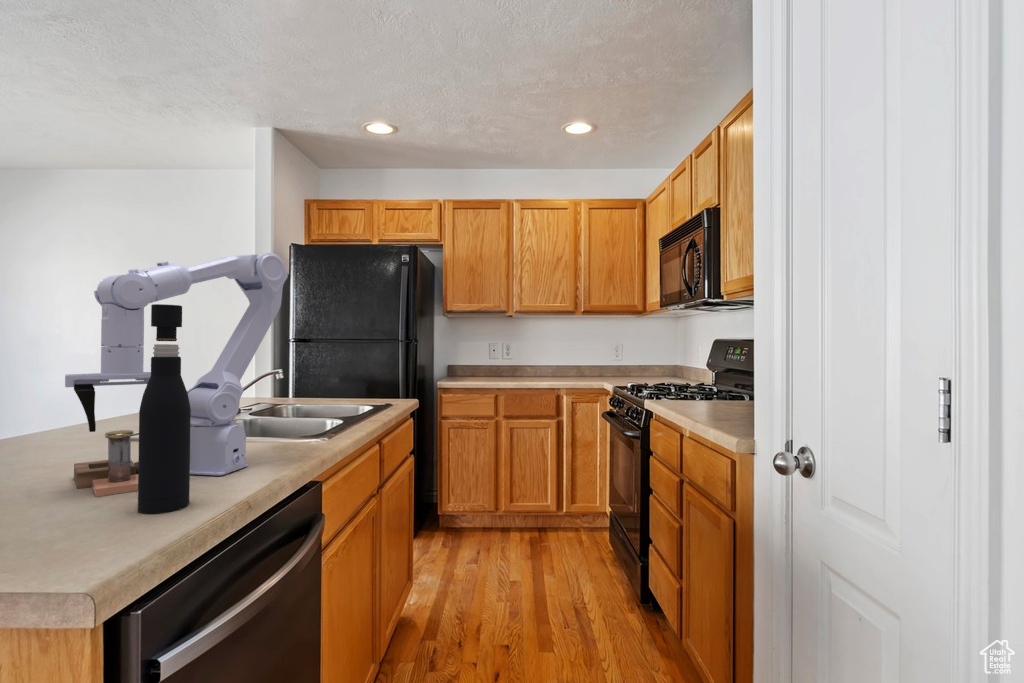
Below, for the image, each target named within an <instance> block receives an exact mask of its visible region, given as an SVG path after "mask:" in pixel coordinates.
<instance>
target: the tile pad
mask: <svg viewBox="0 0 1024 683" xmlns="http://www.w3.org/2000/svg"><path fill="white" fill-rule="evenodd" d="M91 488H92V490H93V493H94V496H95V497H102V496H103V497H104V496H110V495H111V496H112V495H116V494H125V493H130V492H138V474H135V475H131V479H130V480H128V481H124V482H117V483H111V482H108V478H104V479H97V480H92V487H91Z"/></svg>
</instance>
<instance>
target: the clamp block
mask: <svg viewBox="0 0 1024 683" xmlns="http://www.w3.org/2000/svg"><path fill="white" fill-rule="evenodd" d="M138 463H139V461H135V462H134V461H132V459H131V475H135V474H138ZM104 478H108V459H106V460H105V459H102V460H96V461H95V460H94V461H86V462H85V461H83V462H77V463H76V462H75V463H73V479H74V483H75V488H76V490H77V489H85V488H90V487H91V488H92V480H97V479H104Z"/></svg>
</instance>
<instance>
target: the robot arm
mask: <svg viewBox="0 0 1024 683" xmlns="http://www.w3.org/2000/svg"><path fill="white" fill-rule="evenodd" d="M156 265H157V266H154V267H149V268H144V269H141V270H139V269H138V268H133V269H129V270H128V273H126V274H120V275H109V276H107V277H104V278H103V279H102V281H100V282H99V284H98V285H97V288H96V290H94V292H93V294H94V298H95V299H96V302H97V303H98V304H99V305H100V307H101V322H100V324H101V327H100V328H101V330H100V333H101V334H100V336H101V337H100V346H101V348H100V373H99V372H98V373H96V372H95V373H74V374H73V373H71V374H69V373H67V374H66V373H65V375H64V387H65V388H73V390H74V392H75V394H76V396H77V398H78V400H79V401H80V403H81V405H82V408H83V411H84V413H85V416H86V419H87V420H86V421H87V423H88V430H89V431H88V432H89V433H93V432H94V433H95V432H96V431H97V430H96V426H97V425H96V424H97V423H96V414H95V406H96V405H95V404H96V390H95V387H97V386H98V387H99V386H100V387H102V386H103V387H105V386H124V385H125V386H127V385H128V386H131V385H147V383H148V381H149V379H150V376H151V371H144V359H145V358H144V353H145V352H144V351H145V350H144V348H145V347H144V344H145V343H144V342H145V308H146V307H147V306H148V305H149V304H152V303H155V302H159V301H163V300H167V299H170V298H173V297H177V296H182V295H185V294H187V293H188V292H189V290H190V288H191V286H192V285H194V284H198V283H203V282H206V281H210V280H215V279H220V278H227V279H229V280H234V281H235V283H236V284H237V286H239V288H240V290H241V291H242V293H243V294H244V295H245V297H246V298H247V300H248V302H249V304H248V307H247V308H246V310H245V311H244V313H243V315H242V317H241V318H240V320H239V322H238V324H237V326H236V328H235V329H234V331H233V332H232V334H231V335H230V337H229V339H228V341H227V342H226V344H225V346H224V348H223V350H222V351H221V352H220V354H219V357H218V358H217V359H216V362H215V363H214V365H213V366H212V368H211V370H209V371H208V372H207V373H205V374H204V375H202V376H200V378H198V380H197V381H196V383H195V384H194V385H193V386H192V387H191V388H189V389H188V390H187V393H188V398H189V403H190V408H191V421H190V475H198V476H199V475H200V476H201V475H202V476H203V475H204V476H224V475H228V474H230V473H232V472H235V471H238V470H241V469H243V468H247V467H248V466H249V463H246V458H247V457H246V453H247V452H246V451H247V450H246V449H247V448H246V446H247V436H246V430H245V429H244V427H243V426H241V425H239V424H234V423H233V420H234V418H235V417H236V416H237V414H238V412H239V410H240V401H241V397H242V395H243V393H244V388H243V386H242V384H241V379H242V378H243V376H244V375H245V373H246V371H247V368H248V367H249V365H250V364H251V362H252V360H253V359H254V356H255V354H256V353H257V351H258V349H259V347H260V345H261V343H262V341H263V340H264V338H265V336H266V334H267V332H268V331H269V329H270V327H271V325H272V323H273V322H274V320H275V319H276V316H277V314H278V312H279V311H280V309H281V306H282V299H283V287H284V284H285V282H286V280H288V276H289V275H288V271H287V269H286V266H285V263H284V261H283V259H282V257H280V256H279V255H278V254H276V253H273V252H265V253H262V254H261V253H260V254H259V253H257V254H256V253H254V254H241V255H230V256H223V257H220V258H219V257H218V258H216V259H212V260H208V261H204V262H201V263H197V264H194V265H190V266H187V267H184V266H182V265H180V264H178V263H175V262H171V263H169V261H168V260H166V261H160V262H159V261H158V262H156ZM111 380H116V381H111ZM117 380H130V381H117ZM132 380H134V381H132Z"/></svg>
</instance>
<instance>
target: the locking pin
mask: <svg viewBox="0 0 1024 683" xmlns="http://www.w3.org/2000/svg"><path fill="white" fill-rule="evenodd" d="M134 435H135V434H134V430H131V429H122V430H121V429H120V430H113V431H107V432H105V434H104V437H105V438H106V439H107V440H108V441H107V452H108V453H107V454H108V455H107V457H108V459H107V460H108V482H111V483H117V482H124V481H128V480H130V479H131V460H132V459H131V456H132V455H131V449H132V448H131V444H132V443H131V440H132V436H134Z"/></svg>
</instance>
